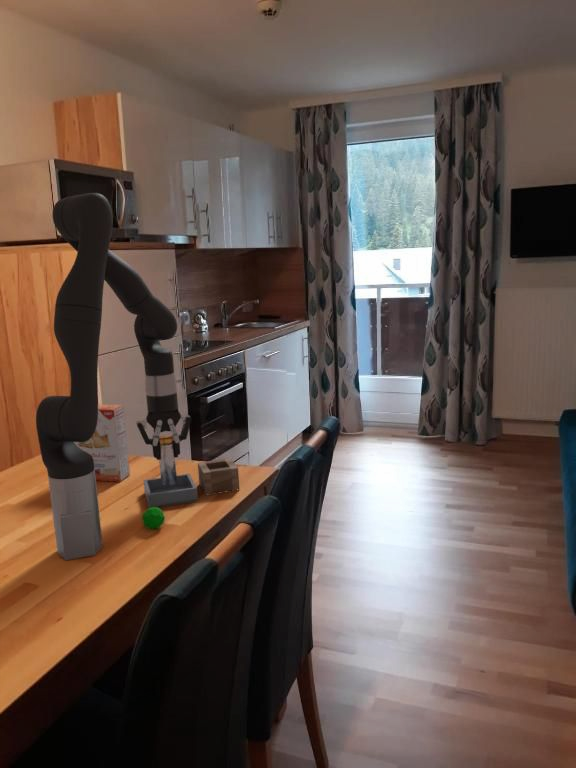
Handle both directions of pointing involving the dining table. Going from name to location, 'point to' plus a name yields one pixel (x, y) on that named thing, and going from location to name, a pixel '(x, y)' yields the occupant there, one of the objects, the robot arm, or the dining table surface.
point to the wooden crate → (218, 476)
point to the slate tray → (170, 492)
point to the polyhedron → (153, 518)
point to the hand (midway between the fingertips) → (167, 457)
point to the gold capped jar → (167, 460)
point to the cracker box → (109, 444)
